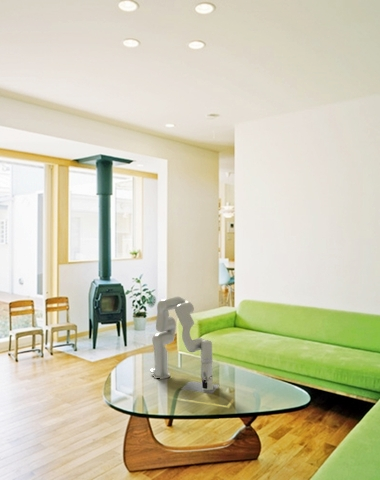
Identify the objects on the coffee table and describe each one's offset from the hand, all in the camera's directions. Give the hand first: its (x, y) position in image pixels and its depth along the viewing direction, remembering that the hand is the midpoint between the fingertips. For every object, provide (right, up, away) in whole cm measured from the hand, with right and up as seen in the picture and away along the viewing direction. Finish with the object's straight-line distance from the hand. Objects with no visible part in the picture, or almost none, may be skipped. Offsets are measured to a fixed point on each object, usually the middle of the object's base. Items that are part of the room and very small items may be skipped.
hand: (207, 385), depth 261 cm
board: (-5, -3, +2) cm, 6 cm away
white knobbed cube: (0, -2, 0) cm, 2 cm away
